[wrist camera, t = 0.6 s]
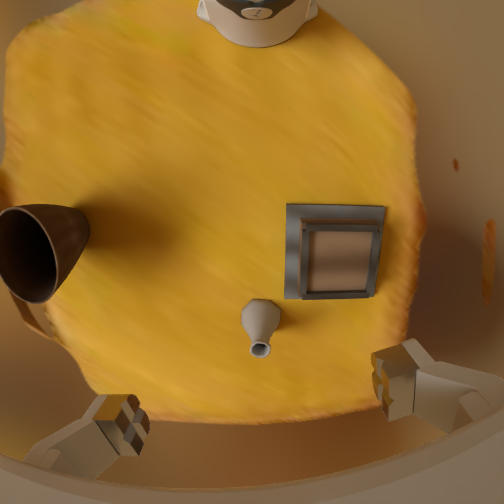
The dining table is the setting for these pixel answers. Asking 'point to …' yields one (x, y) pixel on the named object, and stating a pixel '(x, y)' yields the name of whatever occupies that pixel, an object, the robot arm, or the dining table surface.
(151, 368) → the dining table surface
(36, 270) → the plant pot
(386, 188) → the dining table surface
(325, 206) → the walnut plinth
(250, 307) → the flask
